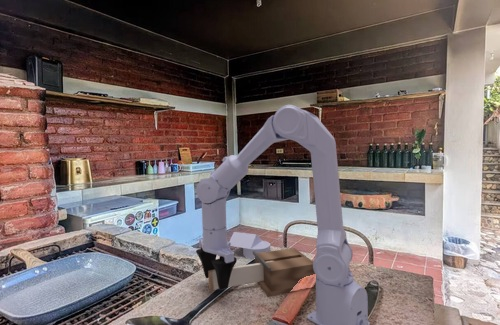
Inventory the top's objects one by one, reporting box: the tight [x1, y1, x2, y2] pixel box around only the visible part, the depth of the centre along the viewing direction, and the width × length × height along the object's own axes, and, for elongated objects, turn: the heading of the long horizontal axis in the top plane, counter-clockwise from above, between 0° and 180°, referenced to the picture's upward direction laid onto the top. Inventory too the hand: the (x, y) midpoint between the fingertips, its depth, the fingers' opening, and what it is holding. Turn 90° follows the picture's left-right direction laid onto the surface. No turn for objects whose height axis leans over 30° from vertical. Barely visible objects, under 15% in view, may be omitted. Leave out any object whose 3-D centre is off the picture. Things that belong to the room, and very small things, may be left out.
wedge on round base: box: [229, 231, 271, 260], centre depth 95 cm, size 9×7×13 cm
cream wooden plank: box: [208, 261, 272, 291], centre depth 71 cm, size 17×1×4 cm, turn 108°
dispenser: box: [253, 247, 316, 298], centre depth 74 cm, size 13×12×7 cm
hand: (216, 282), depth 69 cm, fingers open, 7 cm apart
